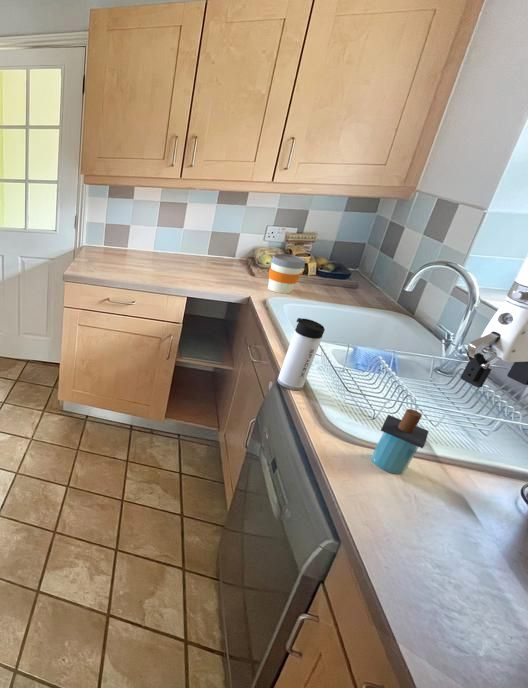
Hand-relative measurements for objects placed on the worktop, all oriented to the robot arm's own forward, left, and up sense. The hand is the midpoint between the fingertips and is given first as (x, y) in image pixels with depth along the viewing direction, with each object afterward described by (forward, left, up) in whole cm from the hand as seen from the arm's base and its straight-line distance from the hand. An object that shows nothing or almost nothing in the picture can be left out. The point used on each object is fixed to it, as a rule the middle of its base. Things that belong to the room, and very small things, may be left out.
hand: (494, 381), depth 77 cm
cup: (+7, -2, -26) cm, 27 cm away
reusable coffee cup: (+17, -112, -26) cm, 116 cm away
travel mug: (+23, -28, -26) cm, 44 cm away
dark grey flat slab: (+7, -2, -17) cm, 18 cm away
